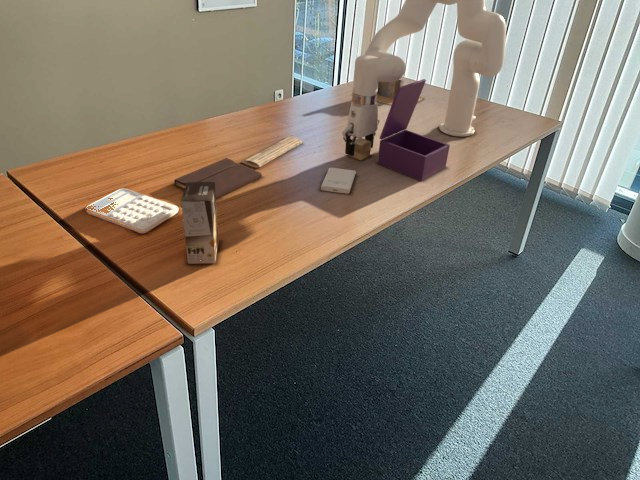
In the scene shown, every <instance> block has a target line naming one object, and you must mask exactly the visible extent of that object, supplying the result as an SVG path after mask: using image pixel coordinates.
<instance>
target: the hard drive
mask: <svg viewBox="0 0 640 480" xmlns="http://www.w3.org/2000/svg"><path fill="white" fill-rule="evenodd" d="M356 174H357V171H356V170H354V169H347V168H346V169H345V168H337V167H328V169H327V172H326V174H325V177H324V179H323V181H322V184H321V185H320V190H321V191H324V192H330V193H338V194H350V192H351V189H352V186H353V183H354V180H355V178H356Z"/></svg>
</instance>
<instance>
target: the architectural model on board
mask: <svg viewBox="0 0 640 480" xmlns="http://www.w3.org/2000/svg"><path fill="white" fill-rule="evenodd" d="M404 83H405V80H403V79H399V80H397V81H393V82H385V81H380V82H378V91H377V100H376V102H377V103H378V102H379V103H383V104H386V105H390V106H392V103H393V100H394V97H395V95H396V92H397V89H398V88H399V87H402V86H404V85H405V84H404ZM422 100H423V97H419V99H418V102H420V101H422Z"/></svg>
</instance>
